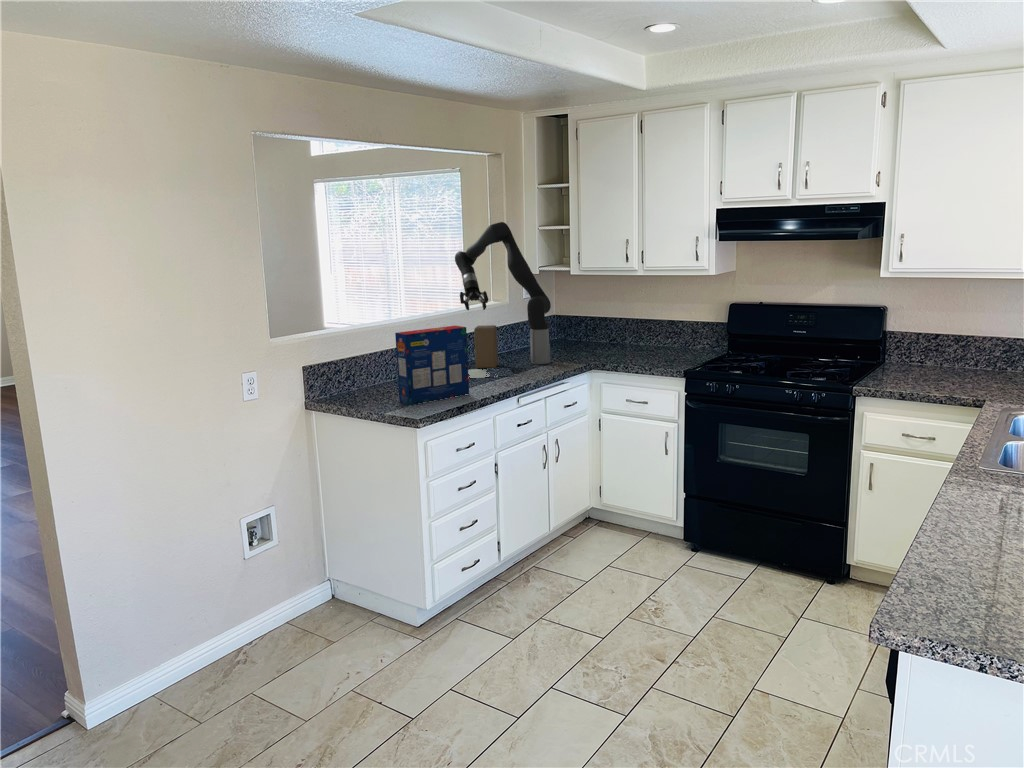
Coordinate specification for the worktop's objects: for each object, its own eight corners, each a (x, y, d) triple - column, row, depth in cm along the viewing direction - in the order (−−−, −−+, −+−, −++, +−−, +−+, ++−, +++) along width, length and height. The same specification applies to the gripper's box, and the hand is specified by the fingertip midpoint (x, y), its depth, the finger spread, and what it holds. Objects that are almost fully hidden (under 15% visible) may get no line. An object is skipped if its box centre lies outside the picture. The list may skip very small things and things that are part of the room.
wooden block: (498, 365, 382) (496, 325, 378) (495, 368, 372) (494, 327, 368) (478, 365, 383) (476, 325, 379) (475, 369, 373) (473, 328, 369)
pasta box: (458, 391, 322) (455, 325, 317) (469, 394, 316) (466, 327, 310) (399, 402, 306) (395, 332, 300) (409, 405, 299) (405, 334, 294)
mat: (509, 367, 373) (509, 367, 373) (516, 376, 352) (516, 375, 352) (463, 370, 370) (463, 369, 370) (468, 379, 349) (468, 378, 349)
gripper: (458, 279, 393) (464, 305, 386) (485, 278, 398) (491, 304, 390) (455, 288, 399) (461, 314, 392) (482, 287, 404) (488, 313, 396)
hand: (476, 309), depth 391 cm, fingers open, 8 cm apart
